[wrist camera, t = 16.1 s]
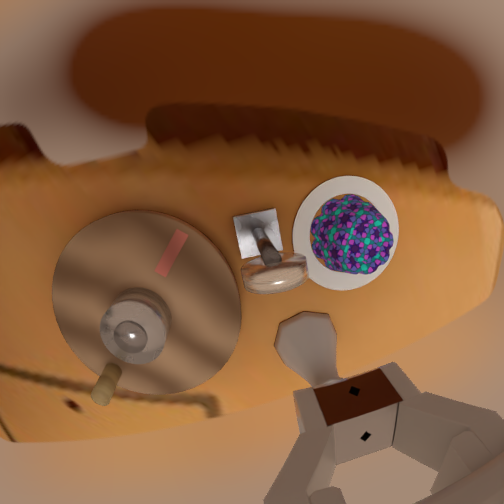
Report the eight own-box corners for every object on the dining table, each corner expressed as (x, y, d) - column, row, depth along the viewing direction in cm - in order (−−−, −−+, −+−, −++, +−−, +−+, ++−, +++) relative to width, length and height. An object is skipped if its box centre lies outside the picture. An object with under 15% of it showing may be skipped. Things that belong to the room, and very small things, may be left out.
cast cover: (156, 352, 30) (147, 377, 26) (105, 323, 29) (89, 345, 24) (181, 307, 29) (175, 329, 25) (126, 275, 28) (111, 293, 23)
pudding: (307, 161, 29) (324, 159, 24) (406, 194, 31) (434, 199, 26) (277, 276, 32) (287, 296, 27) (376, 295, 34) (398, 314, 29)
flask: (336, 357, 35) (366, 411, 25) (276, 370, 35) (293, 429, 25) (335, 304, 33) (372, 351, 24) (270, 316, 33) (287, 371, 23)
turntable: (187, 407, 34) (183, 448, 28) (43, 329, 30) (15, 359, 24) (277, 274, 31) (292, 302, 24) (101, 173, 27) (68, 175, 20)
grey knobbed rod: (239, 256, 31) (248, 308, 19) (230, 216, 30) (235, 246, 18) (283, 247, 31) (317, 292, 19) (275, 207, 30) (308, 230, 18)
